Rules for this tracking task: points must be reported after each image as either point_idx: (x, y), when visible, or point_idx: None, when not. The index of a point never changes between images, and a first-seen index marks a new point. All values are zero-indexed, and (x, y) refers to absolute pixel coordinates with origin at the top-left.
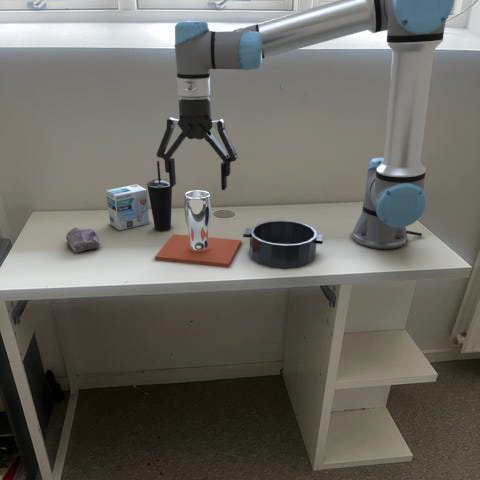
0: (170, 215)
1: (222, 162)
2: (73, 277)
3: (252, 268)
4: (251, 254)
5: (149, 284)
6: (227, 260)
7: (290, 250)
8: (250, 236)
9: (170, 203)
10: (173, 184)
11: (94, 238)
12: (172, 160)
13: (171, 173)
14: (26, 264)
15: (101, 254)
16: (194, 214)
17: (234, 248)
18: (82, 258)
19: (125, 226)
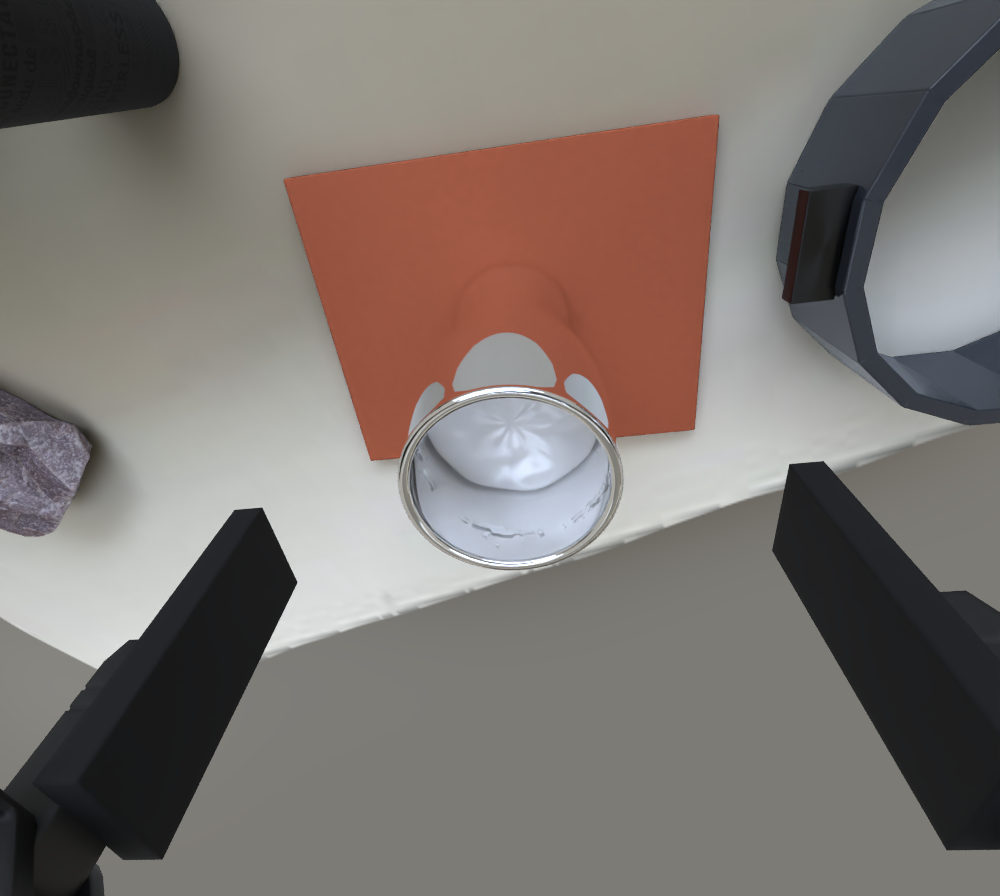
0: (120, 21)
1: (983, 810)
2: None
3: (796, 400)
4: (796, 307)
5: (461, 593)
6: (684, 404)
7: None
8: (833, 303)
9: (52, 8)
10: (282, 574)
11: (61, 478)
12: (132, 817)
13: (239, 696)
14: (27, 593)
15: (153, 472)
16: (522, 497)
17: (695, 263)
18: (127, 517)
19: None
